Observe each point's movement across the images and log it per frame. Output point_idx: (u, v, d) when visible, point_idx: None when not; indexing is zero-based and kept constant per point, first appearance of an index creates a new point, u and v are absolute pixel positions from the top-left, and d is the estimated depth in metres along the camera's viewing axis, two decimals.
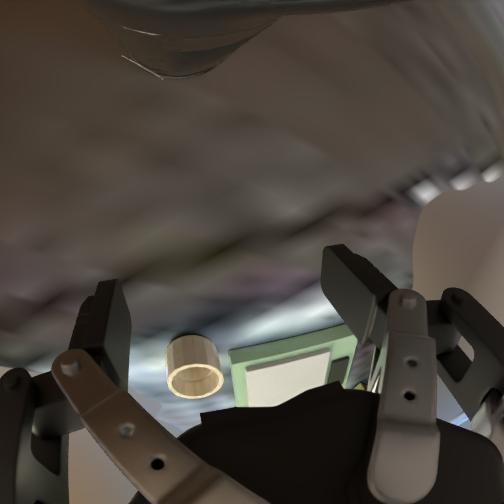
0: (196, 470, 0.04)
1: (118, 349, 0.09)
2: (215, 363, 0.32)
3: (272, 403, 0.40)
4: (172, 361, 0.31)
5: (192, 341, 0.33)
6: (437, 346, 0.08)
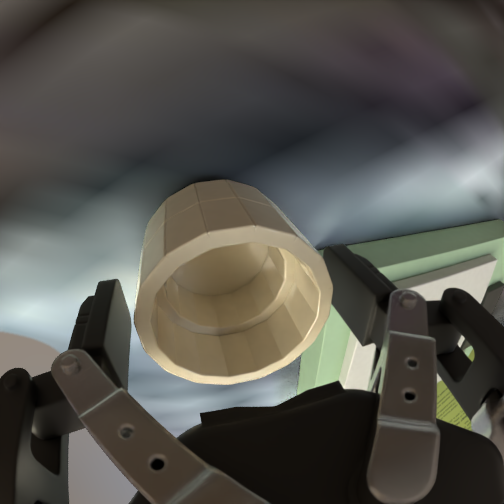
0: (197, 471, 0.04)
1: (118, 349, 0.09)
2: (312, 246, 0.10)
3: None
4: (158, 239, 0.09)
5: (229, 187, 0.11)
6: (437, 346, 0.08)
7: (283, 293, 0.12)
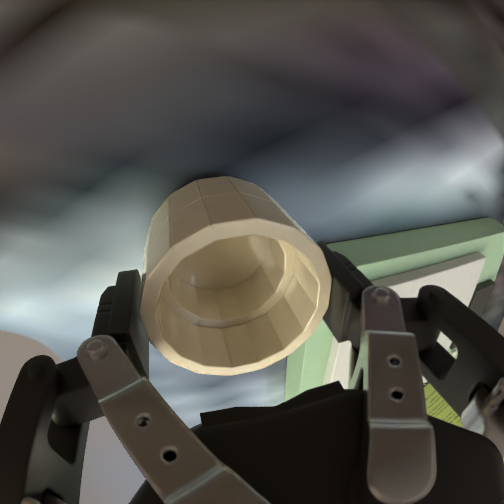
0: (207, 467, 0.04)
1: (140, 337, 0.09)
2: (311, 238, 0.10)
3: None
4: (163, 233, 0.09)
5: (230, 183, 0.11)
6: None
7: (283, 286, 0.13)
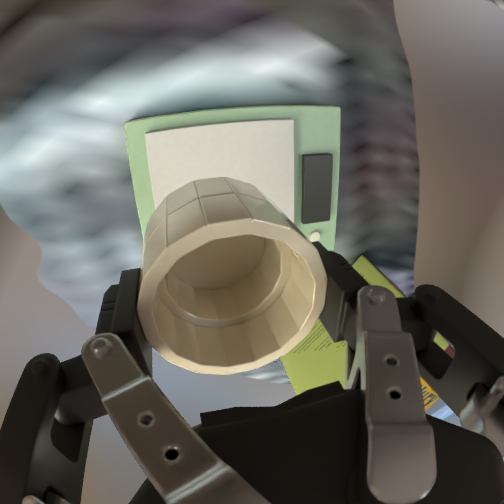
0: (209, 466, 0.04)
1: None
2: (306, 238, 0.10)
3: None
4: (159, 233, 0.09)
5: None
6: None
7: (280, 286, 0.13)
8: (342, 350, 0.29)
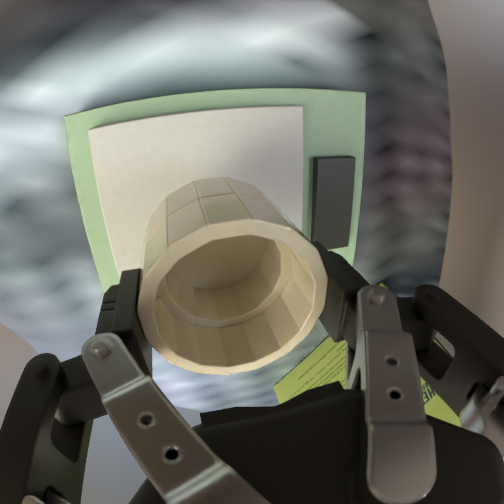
0: (209, 466, 0.04)
1: (144, 335, 0.09)
2: (307, 238, 0.10)
3: None
4: (160, 233, 0.09)
5: None
6: None
7: (280, 286, 0.13)
8: None
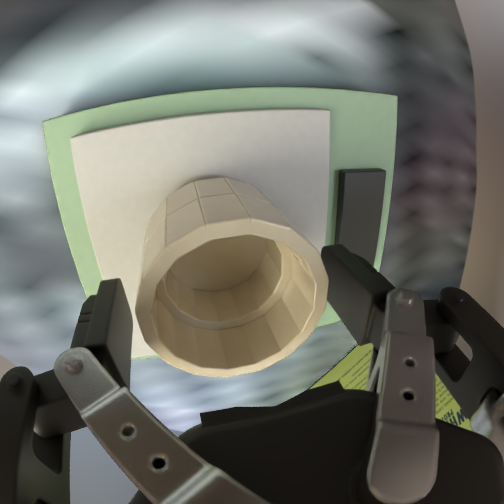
0: (197, 471, 0.04)
1: (120, 348, 0.09)
2: (307, 239, 0.10)
3: None
4: (159, 233, 0.09)
5: (227, 184, 0.11)
6: (435, 346, 0.08)
7: (281, 288, 0.12)
8: None
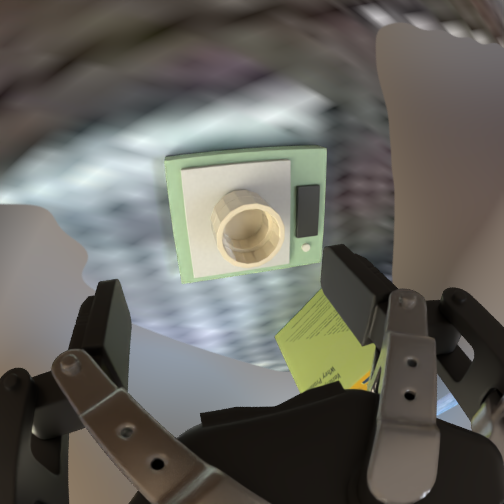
0: (196, 471, 0.04)
1: (118, 349, 0.09)
2: None
3: None
4: (224, 209, 0.28)
5: (247, 193, 0.29)
6: (437, 346, 0.08)
7: (268, 234, 0.31)
8: (328, 337, 0.37)
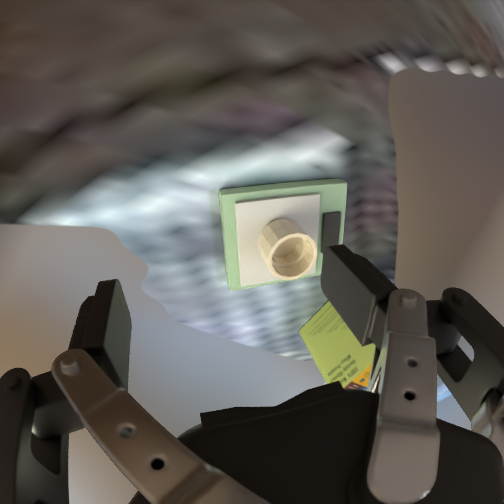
0: (196, 471, 0.04)
1: (118, 349, 0.09)
2: None
3: None
4: (273, 236, 0.36)
5: (288, 221, 0.38)
6: (437, 346, 0.08)
7: (303, 253, 0.39)
8: (344, 331, 0.46)
